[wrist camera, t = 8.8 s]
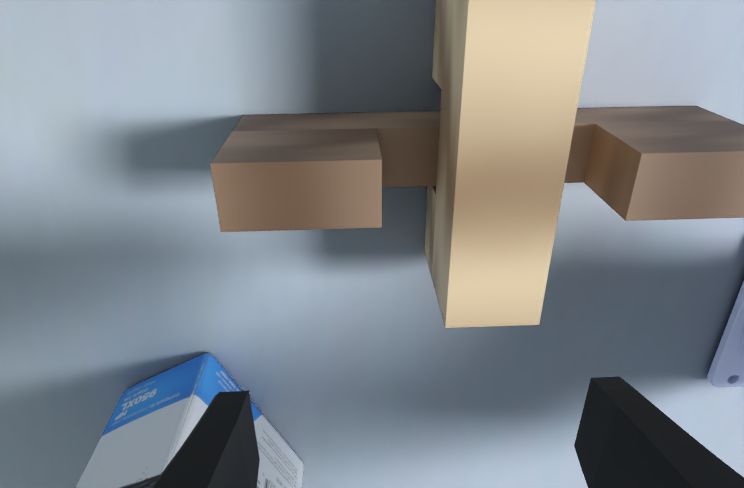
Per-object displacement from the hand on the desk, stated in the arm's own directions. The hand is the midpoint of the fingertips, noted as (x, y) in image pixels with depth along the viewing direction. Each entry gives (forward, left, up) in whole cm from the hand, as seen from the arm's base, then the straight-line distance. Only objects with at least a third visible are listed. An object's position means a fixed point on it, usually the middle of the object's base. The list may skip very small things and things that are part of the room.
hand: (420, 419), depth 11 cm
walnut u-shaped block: (-3, -3, -10) cm, 11 cm away
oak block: (-3, -3, -10) cm, 11 cm away
